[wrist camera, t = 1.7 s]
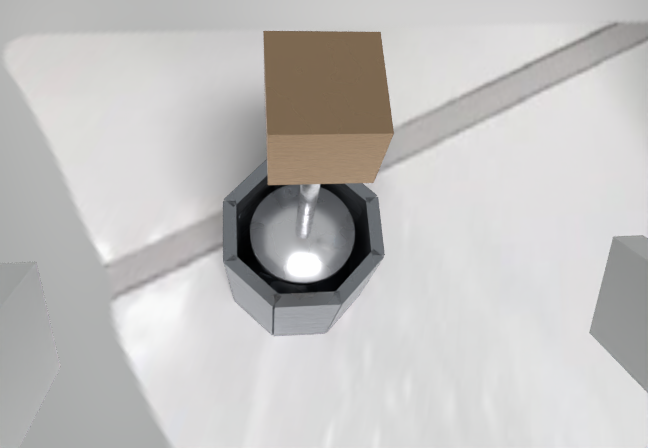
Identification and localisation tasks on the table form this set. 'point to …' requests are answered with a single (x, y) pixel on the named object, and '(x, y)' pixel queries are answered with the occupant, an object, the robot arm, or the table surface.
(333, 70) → the plunger
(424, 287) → the table surface
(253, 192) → the octagonal metal cup
